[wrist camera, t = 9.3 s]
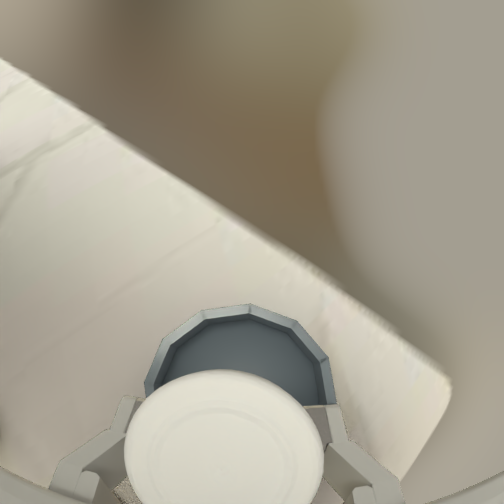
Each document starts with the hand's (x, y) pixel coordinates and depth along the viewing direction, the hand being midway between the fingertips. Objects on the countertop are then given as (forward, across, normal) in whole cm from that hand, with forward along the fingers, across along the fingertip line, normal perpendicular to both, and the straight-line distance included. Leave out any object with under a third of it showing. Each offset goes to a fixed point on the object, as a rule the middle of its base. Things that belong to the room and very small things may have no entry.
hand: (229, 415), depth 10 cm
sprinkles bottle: (+6, 0, +7) cm, 9 cm away
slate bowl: (+13, 0, +14) cm, 19 cm away
